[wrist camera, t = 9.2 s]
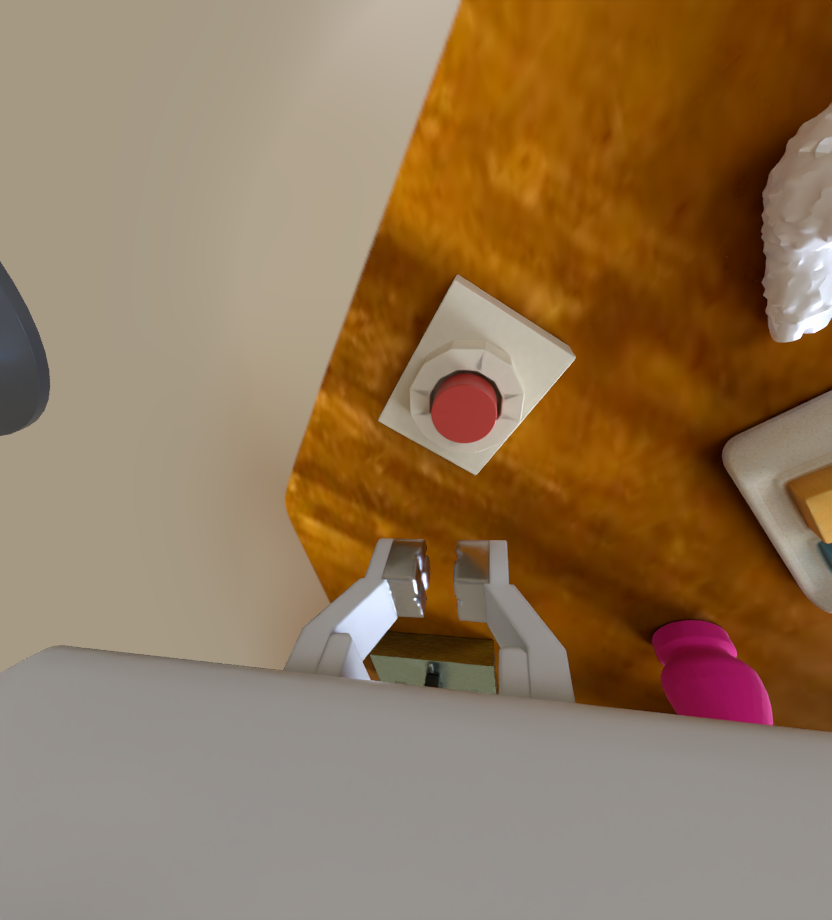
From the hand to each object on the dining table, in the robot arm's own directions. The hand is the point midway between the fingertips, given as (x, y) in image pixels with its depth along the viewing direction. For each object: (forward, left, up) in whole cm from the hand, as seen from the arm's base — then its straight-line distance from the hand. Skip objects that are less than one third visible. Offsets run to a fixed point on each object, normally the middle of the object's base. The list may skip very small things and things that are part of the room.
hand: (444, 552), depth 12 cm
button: (0, 0, -12) cm, 12 cm away
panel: (-6, -37, -15) cm, 40 cm away
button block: (0, 0, -15) cm, 15 cm away
